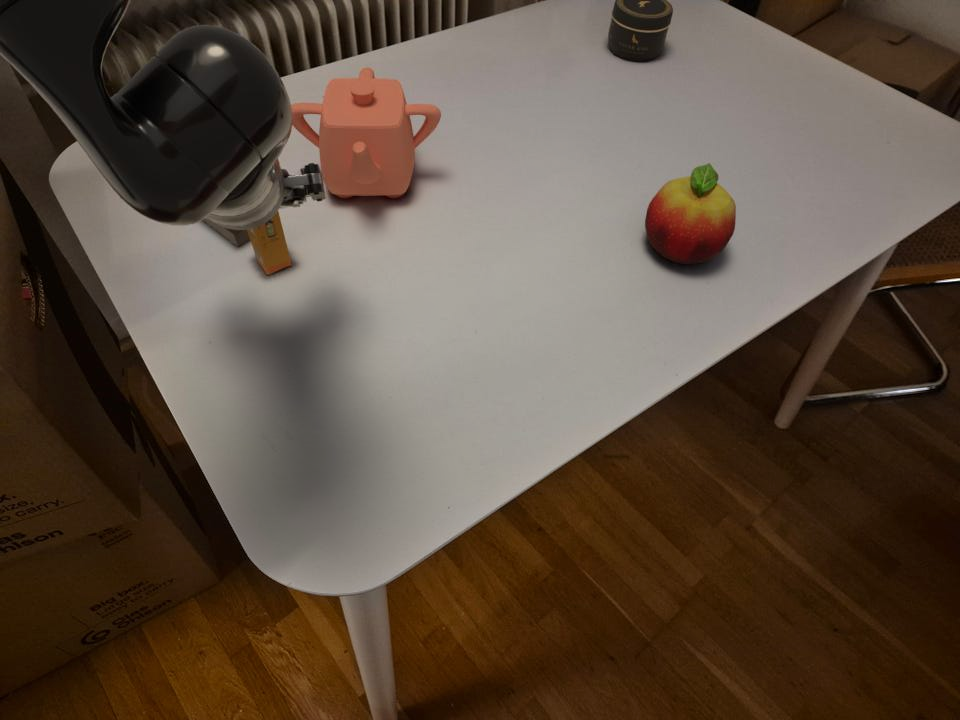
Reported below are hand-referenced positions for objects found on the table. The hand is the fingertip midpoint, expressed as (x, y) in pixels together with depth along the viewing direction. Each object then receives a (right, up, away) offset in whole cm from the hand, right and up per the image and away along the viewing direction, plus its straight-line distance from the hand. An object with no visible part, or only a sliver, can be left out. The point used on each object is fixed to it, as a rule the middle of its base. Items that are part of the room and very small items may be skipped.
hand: (251, 201), depth 67 cm
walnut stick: (-11, +2, +17) cm, 21 cm away
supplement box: (-2, -4, +13) cm, 14 cm away
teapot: (+8, +8, +24) cm, 26 cm away
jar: (+50, +39, +50) cm, 81 cm away
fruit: (+49, -2, +19) cm, 52 cm away
